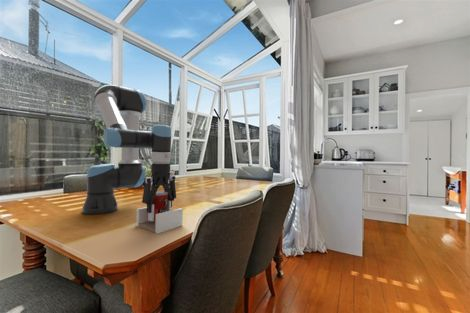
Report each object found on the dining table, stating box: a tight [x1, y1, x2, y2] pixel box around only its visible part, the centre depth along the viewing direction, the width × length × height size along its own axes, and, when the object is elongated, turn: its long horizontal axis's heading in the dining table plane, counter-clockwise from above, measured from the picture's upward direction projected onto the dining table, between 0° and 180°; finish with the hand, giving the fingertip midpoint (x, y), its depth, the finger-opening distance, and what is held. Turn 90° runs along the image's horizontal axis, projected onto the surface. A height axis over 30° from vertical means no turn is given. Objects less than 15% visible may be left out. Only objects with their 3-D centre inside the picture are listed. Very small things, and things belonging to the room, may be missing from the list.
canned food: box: [152, 190, 168, 221], centre depth 92 cm, size 8×8×11 cm
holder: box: [135, 206, 184, 234], centre depth 91 cm, size 14×12×7 cm
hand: (159, 218), depth 91 cm, fingers closed on canned food, 8 cm apart
